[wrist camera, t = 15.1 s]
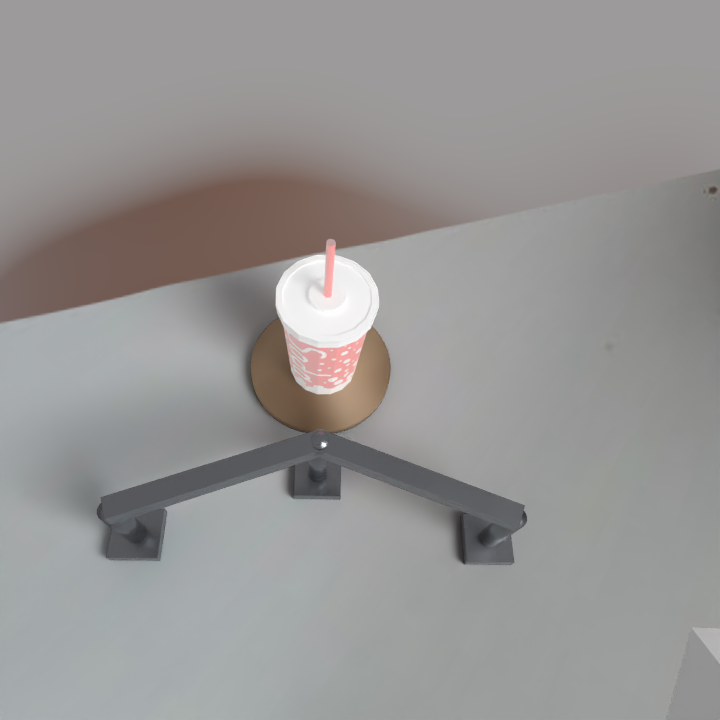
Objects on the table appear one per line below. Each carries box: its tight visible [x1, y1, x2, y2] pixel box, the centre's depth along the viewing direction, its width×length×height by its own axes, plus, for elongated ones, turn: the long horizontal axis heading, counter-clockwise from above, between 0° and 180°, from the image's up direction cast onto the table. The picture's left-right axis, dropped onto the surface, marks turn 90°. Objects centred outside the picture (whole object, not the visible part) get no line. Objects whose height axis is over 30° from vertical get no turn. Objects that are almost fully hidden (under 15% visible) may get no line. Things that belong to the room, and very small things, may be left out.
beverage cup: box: [276, 239, 379, 394], centre depth 37 cm, size 6×6×14 cm
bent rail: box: [97, 429, 527, 565], centre depth 36 cm, size 25×7×7 cm, turn 90°
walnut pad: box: [251, 318, 390, 433], centre depth 44 cm, size 10×10×1 cm
